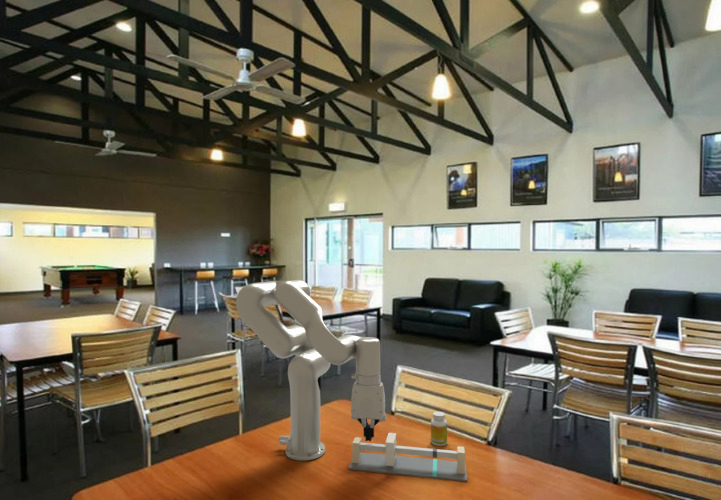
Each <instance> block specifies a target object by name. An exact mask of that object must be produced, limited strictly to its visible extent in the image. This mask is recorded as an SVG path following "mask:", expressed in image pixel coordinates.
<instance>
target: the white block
mask: <svg viewBox="0 0 721 500" xmlns="http://www.w3.org/2000/svg"><path fill="white" fill-rule="evenodd" d="M385 445H386V452H385V455H386V466H394V463H395V459H396V456H397V453H395V446H397V433H396V432H388V434H387V437H386V440H385Z"/></svg>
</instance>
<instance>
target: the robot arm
mask: <svg viewBox="0 0 721 500" xmlns="http://www.w3.org/2000/svg"><path fill="white" fill-rule="evenodd" d="M235 301H236V302H235V306H236V310H237V313H238V316H239V317H240V319H241V320H242V321H243V323H244V324H245V325H246V326H247V327H249V329H251V330H252V331H253V333H255V335H257V337H258V338H259V340H260V341H262V343H263V344H264V345H265V346H266V347H267V348H268V349H269V350H270V352H271V353H272V354H273V355H274V356H275V357H276V358H279V359H288V358H290V357H292V356H294V357H293V358H292V359H291V361H290V362H289V364H288V367H287V376H288V377H287V378H288V383H289V389H290V390H289V392H290V393H289V395H290V398H289V399H290V404H289V405H290V435H279V437H278V442H279V445H281V446H284V445H286V447H285V455H286V457H288V458H289V459H291V460H294V461H300V462H301V461H305V462H306V461H312V460H315V459H319V458H320V457H322V456H323V455H324V454H325V453H326V445H325V444H324V443H323V442H322V441H321V390H320V386H319V381H318V380H319V378H320V377H322V376H323V375H324V374H325V373H327V372H328V371H329V369H330V368H331V364H332V365H335V366H341V365H344V364H346V363H347V362H349V361H350V360H353V359H355V373H351V374H350V375H351V379H353V380H355V381H354V383H353V384H352V390H351V402H350V415H351V416H350V418H351V419H352V420H354V421H358V422H359V424H361V426H362V428H363V437H364V438H365V442H371V441H372V440H373V438H374V437H375V427H376V425H377V424H379V423H382V422H386V421H387V415H386V395H385V387H384V383H383V382H382V381H381V379H382V378H381V375H382V374H381V372H382V371H381V366H382V365H381V341H380V339H379V338H377V337H373V336H372V337H371V336H365V337H361V336H357V335H354V334H343V335H341V336H339V337H336V336H335V335H334V334H333V333H332V332H331V331H330V330H329V329H328V328H327V326H326V325H325V323H324V319H323V308H322V307H321V306H320V305H319V304H318V303H317V302H316V301H315V300H314V299H313V298H312V297H311V288H310V286H309V284H308V283H307V282H306V281H303V280H302V279H292V280H291V279H290V280H272V281H271V280H269V281H262V282H254V283H249V284H246V285H244V286H243V287H241V289H240V290H239V291H238V293H237V296H236V300H235ZM274 305H275V306H277V305H279V306H280V307H281V308H282V309H284V311H285V312H286V313H288V314H289V315H290V316H291V317H292V318H293V319H294V320H295V321H296V322H297V323H298V324H299V325H296V324H293V325H289V326H286V325H285V324H283V323H282V321H281V320H280V319H278V318H277V316H276V315H274V314H273V313H272V312H271V311H269V310H267V309H266V308H265V307H269V306H274ZM368 420H370V423H369V421H368Z"/></svg>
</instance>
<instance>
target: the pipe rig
mask: <svg viewBox="0 0 721 500" xmlns="http://www.w3.org/2000/svg"><path fill="white" fill-rule="evenodd" d="M351 445H352V446H351V447H352V449H351V450H352V451H351V453H352V454H351V455H352V458H351V461H350V464H349V466H348V470H352V471H362V472H370V473H371V472H372V473H379V474H389V475H391V474H392V475H401V476H410V477H418V478H430V479H437V480H438V479H440V480H441V479H442V480H449V481H458V482H468V474H467V472H468V471H467V464H466V451H465V446H459V445H458V446H457V445H456V446H457V447H456V450H448V449H439V448H434V447H433V448H428V447H416V446H407V445H405V446H404V445H396V446H395V453H396V459H395V463H394V466H386V454H381V453H386V444H382V443H374V442H373V443H370V442H362V437H358V436H357V437H356V436H355V437H354V439H353V441H352V444H351ZM362 451H367V452H362ZM371 452H372V453H371ZM373 452H375V453H373ZM376 452H377V453H376ZM403 455H410V456H403ZM412 456H421V457H412ZM423 457H424V458H423ZM426 457H429V458H426ZM437 458H442V459H437ZM444 459H445V460H444ZM446 459H452V460H446ZM453 459H454V460H453Z"/></svg>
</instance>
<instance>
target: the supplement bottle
mask: <svg viewBox="0 0 721 500" xmlns="http://www.w3.org/2000/svg"><path fill="white" fill-rule="evenodd" d="M430 442H431V444H433V445H434V446H439V447H442V446H446V445H447V444H448V421H447V420H446V414H445V412H444V411H434V412H433V413H432V419H431V420H430Z"/></svg>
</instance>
